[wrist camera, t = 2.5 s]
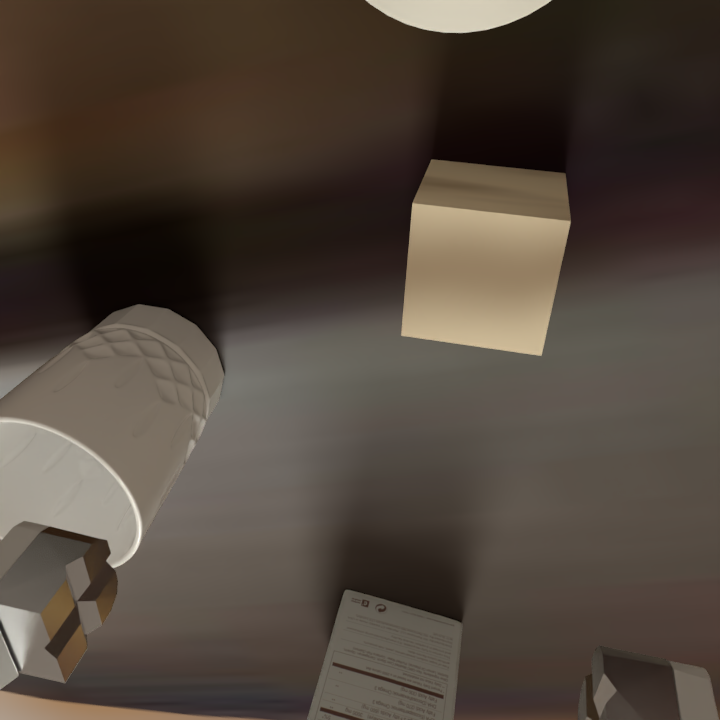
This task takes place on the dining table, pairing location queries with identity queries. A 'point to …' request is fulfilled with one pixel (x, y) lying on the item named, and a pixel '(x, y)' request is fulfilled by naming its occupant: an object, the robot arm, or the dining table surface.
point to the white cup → (107, 427)
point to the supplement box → (388, 663)
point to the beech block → (485, 255)
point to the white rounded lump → (457, 13)
